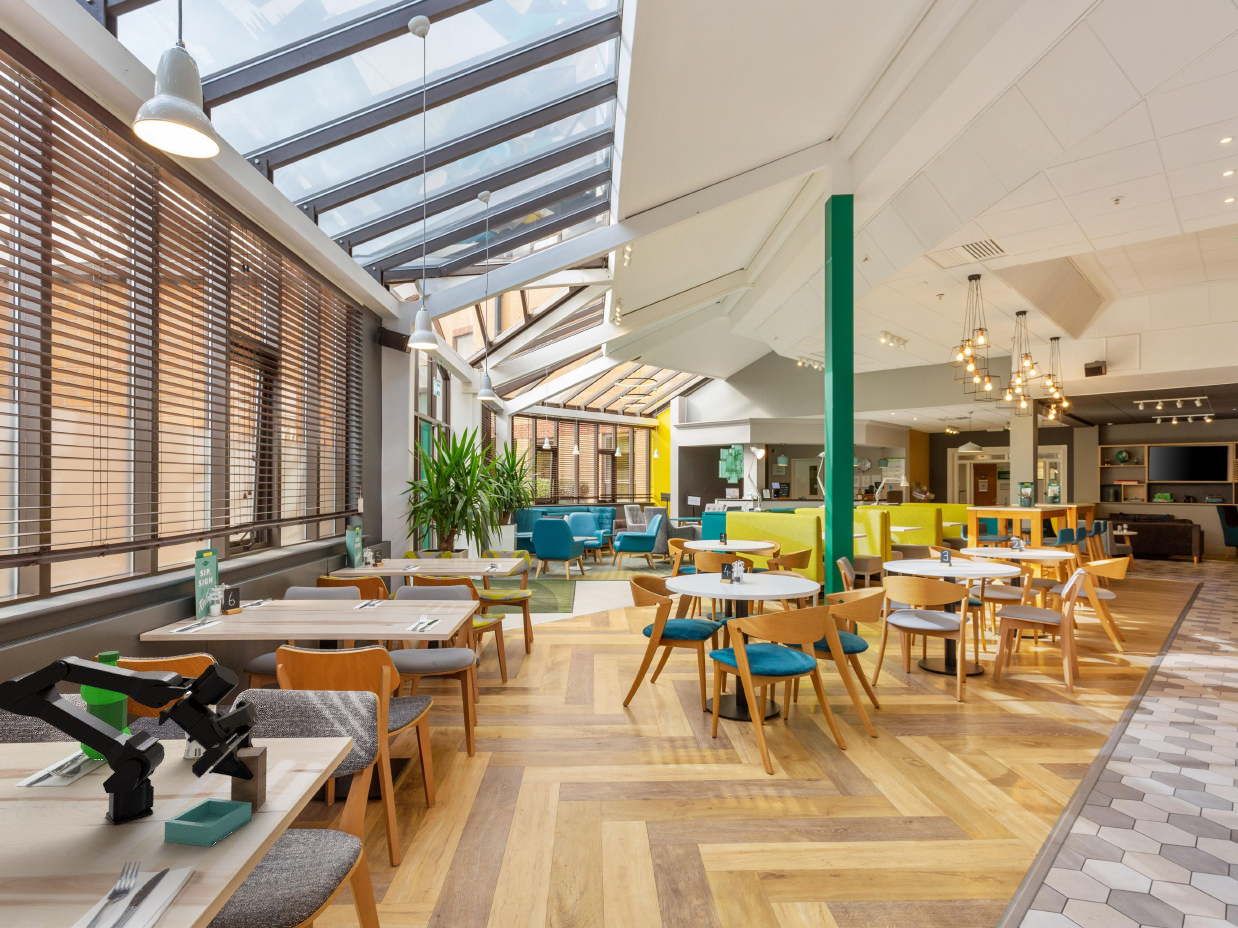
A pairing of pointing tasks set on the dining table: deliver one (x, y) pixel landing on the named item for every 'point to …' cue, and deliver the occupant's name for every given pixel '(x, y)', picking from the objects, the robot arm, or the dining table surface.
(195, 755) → the beer glass
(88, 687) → the plastic bottle
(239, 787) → the walnut post
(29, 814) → the dining table surface
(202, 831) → the teal tray
